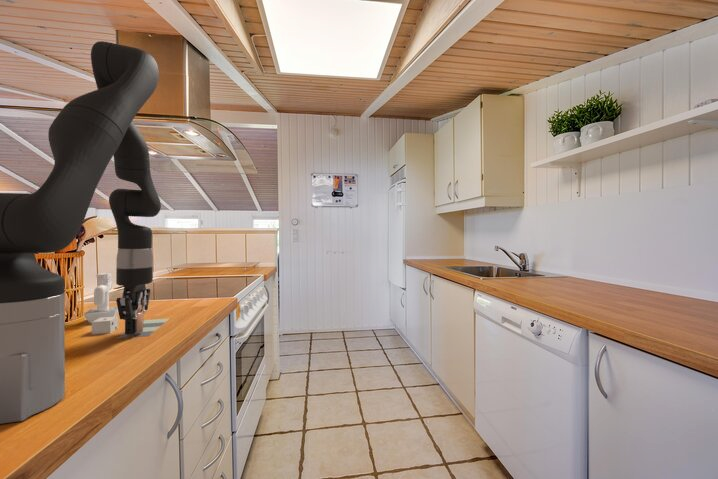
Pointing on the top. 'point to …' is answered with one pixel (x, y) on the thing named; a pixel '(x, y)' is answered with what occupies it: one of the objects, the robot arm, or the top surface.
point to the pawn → (139, 320)
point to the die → (104, 325)
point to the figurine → (102, 299)
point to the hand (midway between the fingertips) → (134, 331)
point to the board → (146, 328)
